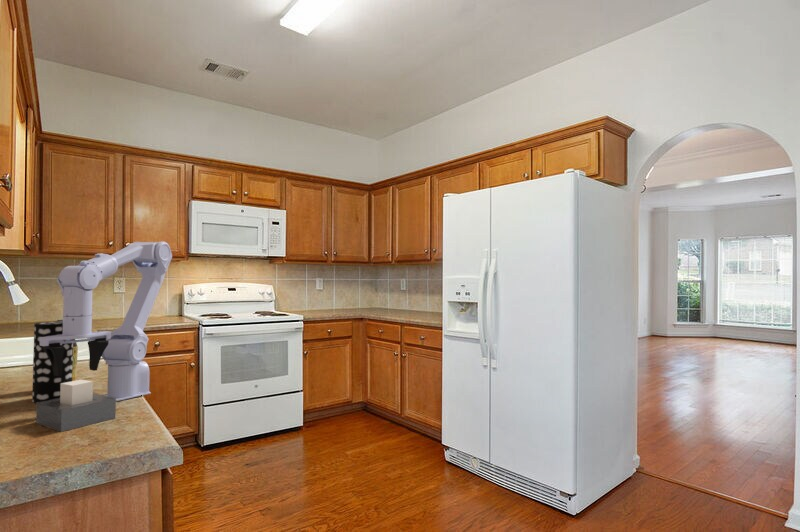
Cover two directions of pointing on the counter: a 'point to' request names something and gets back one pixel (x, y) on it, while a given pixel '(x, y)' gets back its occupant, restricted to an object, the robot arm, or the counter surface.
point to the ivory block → (76, 392)
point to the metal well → (75, 413)
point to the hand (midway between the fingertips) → (76, 372)
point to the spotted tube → (49, 364)
